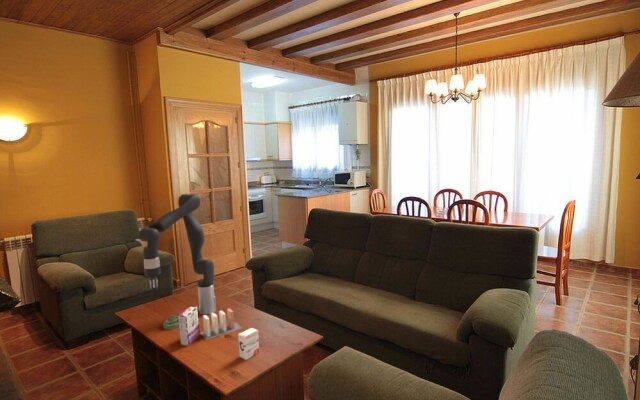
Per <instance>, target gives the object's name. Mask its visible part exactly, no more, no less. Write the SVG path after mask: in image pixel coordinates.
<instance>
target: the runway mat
mask: <svg viewBox="0 0 640 400" xmlns="http://www.w3.org/2000/svg"><path fill="white" fill-rule="evenodd" d="M226 328H227V331H225V332H223V331H222V329H221V328H220V326H218V330H219V334H215V333H214V332H213V331H212V328H210V335H211V336H210V337H207V336H206V335H205V333H204V330H203V331H201V332H200V335H201V336H202V337H203V338H204V339H205V341H206V340H210V339H213V338H216V337H219V336H222V335H225V334H229V333H231V332H235V331H239V330H242V329H243V327H242V326H241V325H240V324H239V323H237V322H236V321H234V329H231V328H230V327H229V326H228V323H226Z"/></svg>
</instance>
